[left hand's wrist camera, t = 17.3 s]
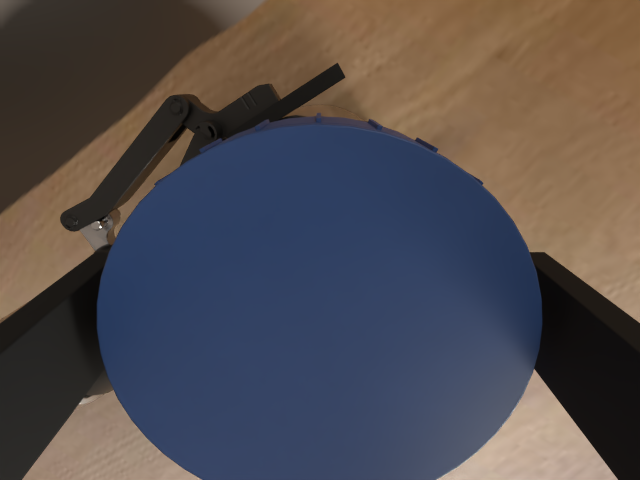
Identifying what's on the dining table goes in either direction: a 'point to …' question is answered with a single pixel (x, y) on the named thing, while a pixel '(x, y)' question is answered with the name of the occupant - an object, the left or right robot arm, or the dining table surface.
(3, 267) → the dining table surface
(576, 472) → the dining table surface
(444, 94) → the dining table surface
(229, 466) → the lid
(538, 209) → the dining table surface
